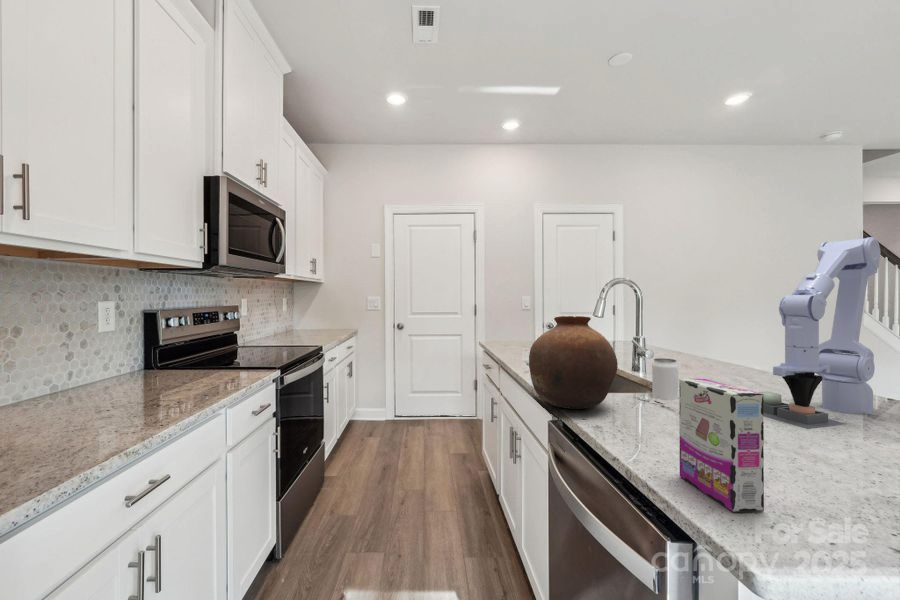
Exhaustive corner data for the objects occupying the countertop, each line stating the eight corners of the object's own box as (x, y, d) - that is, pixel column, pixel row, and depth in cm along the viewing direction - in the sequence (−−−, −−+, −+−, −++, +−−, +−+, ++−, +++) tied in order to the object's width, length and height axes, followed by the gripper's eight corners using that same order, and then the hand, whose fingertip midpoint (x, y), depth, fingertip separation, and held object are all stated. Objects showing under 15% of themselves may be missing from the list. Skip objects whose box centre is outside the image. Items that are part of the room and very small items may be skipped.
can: (682, 405, 104) (682, 362, 104) (656, 404, 106) (656, 361, 106) (673, 399, 111) (673, 358, 111) (649, 398, 112) (649, 357, 112)
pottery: (561, 424, 90) (561, 318, 90) (514, 399, 112) (513, 314, 112) (637, 413, 97) (636, 316, 97) (579, 393, 119) (578, 313, 119)
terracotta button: (798, 412, 90) (798, 402, 90) (820, 418, 86) (820, 407, 86) (784, 413, 89) (784, 403, 89) (805, 419, 85) (805, 408, 85)
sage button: (767, 400, 97) (767, 391, 97) (786, 405, 92) (786, 395, 92) (753, 401, 96) (753, 392, 96) (772, 406, 91) (772, 396, 91)
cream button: (740, 393, 104) (740, 385, 104) (756, 397, 99) (756, 388, 99) (727, 394, 102) (727, 386, 102) (743, 399, 98) (743, 389, 98)
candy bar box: (767, 512, 52) (766, 393, 52) (733, 514, 52) (732, 394, 52) (706, 474, 64) (705, 377, 64) (677, 476, 63) (677, 377, 63)
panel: (741, 402, 107) (741, 389, 107) (848, 430, 84) (848, 414, 84) (706, 405, 104) (706, 392, 104) (807, 435, 81) (807, 419, 81)
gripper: (805, 343, 93) (805, 399, 93) (759, 345, 89) (759, 403, 89) (840, 347, 86) (841, 407, 86) (792, 349, 83) (792, 411, 83)
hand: (801, 405), depth 87 cm, fingers closed, pressing on terracotta button
